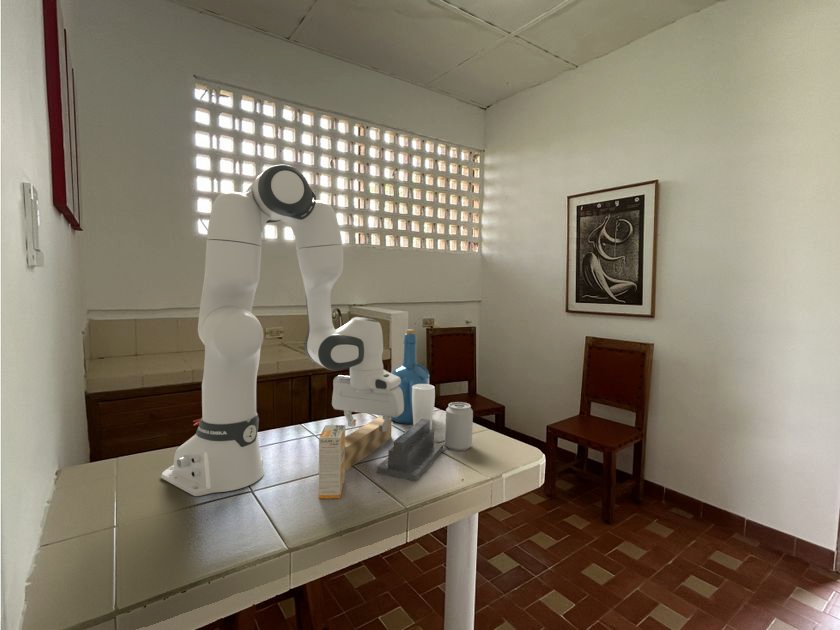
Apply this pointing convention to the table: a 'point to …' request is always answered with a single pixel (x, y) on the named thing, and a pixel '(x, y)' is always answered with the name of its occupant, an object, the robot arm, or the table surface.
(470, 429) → the can
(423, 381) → the blue rounded container
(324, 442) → the supplement box
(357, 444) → the wooden block
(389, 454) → the ridge
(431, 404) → the cream cylinder
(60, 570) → the table surface
